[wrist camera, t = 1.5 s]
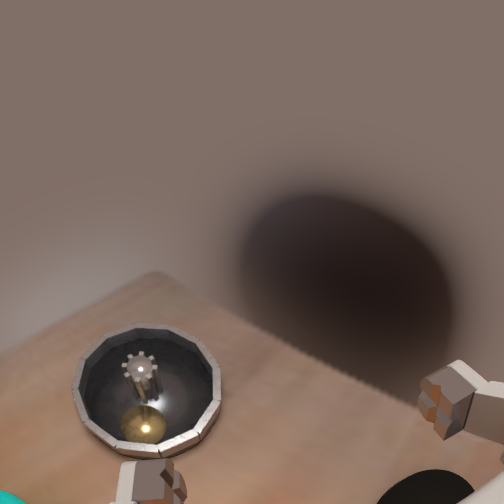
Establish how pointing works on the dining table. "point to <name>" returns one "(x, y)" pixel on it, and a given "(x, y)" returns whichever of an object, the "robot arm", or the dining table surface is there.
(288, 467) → the dining table surface
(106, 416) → the bowl
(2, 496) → the turquoise spool
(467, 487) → the wireless charger
